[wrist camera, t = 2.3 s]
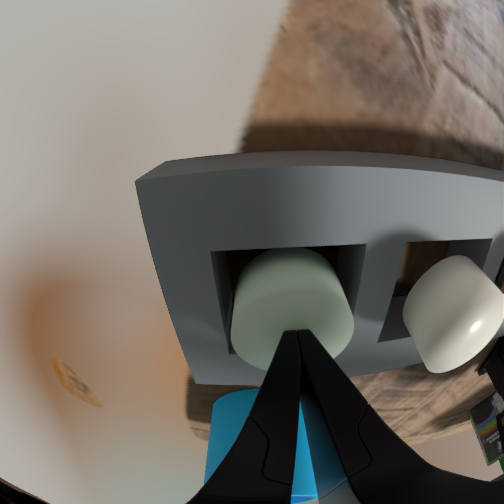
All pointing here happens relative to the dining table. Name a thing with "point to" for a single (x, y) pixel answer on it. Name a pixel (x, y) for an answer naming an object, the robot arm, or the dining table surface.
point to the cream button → (452, 313)
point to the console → (312, 239)
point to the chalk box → (488, 428)
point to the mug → (229, 426)
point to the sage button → (288, 304)
